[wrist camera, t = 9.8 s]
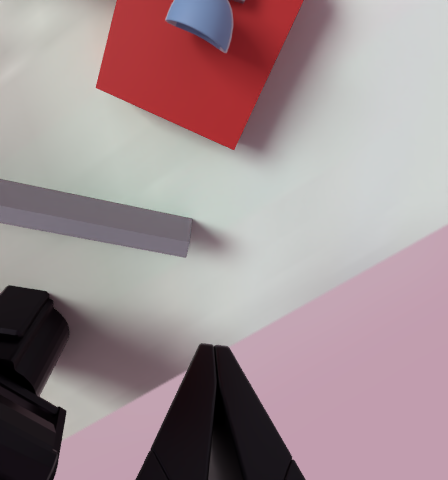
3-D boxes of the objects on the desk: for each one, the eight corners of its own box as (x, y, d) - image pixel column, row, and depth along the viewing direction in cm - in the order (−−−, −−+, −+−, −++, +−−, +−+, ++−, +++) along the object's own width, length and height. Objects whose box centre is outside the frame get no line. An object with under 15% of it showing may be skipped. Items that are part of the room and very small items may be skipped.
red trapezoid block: (163, -113, 13) (132, -233, 8) (303, -25, 15) (359, -72, 9) (111, 83, 17) (65, 95, 11) (230, 137, 18) (240, 172, 13)
